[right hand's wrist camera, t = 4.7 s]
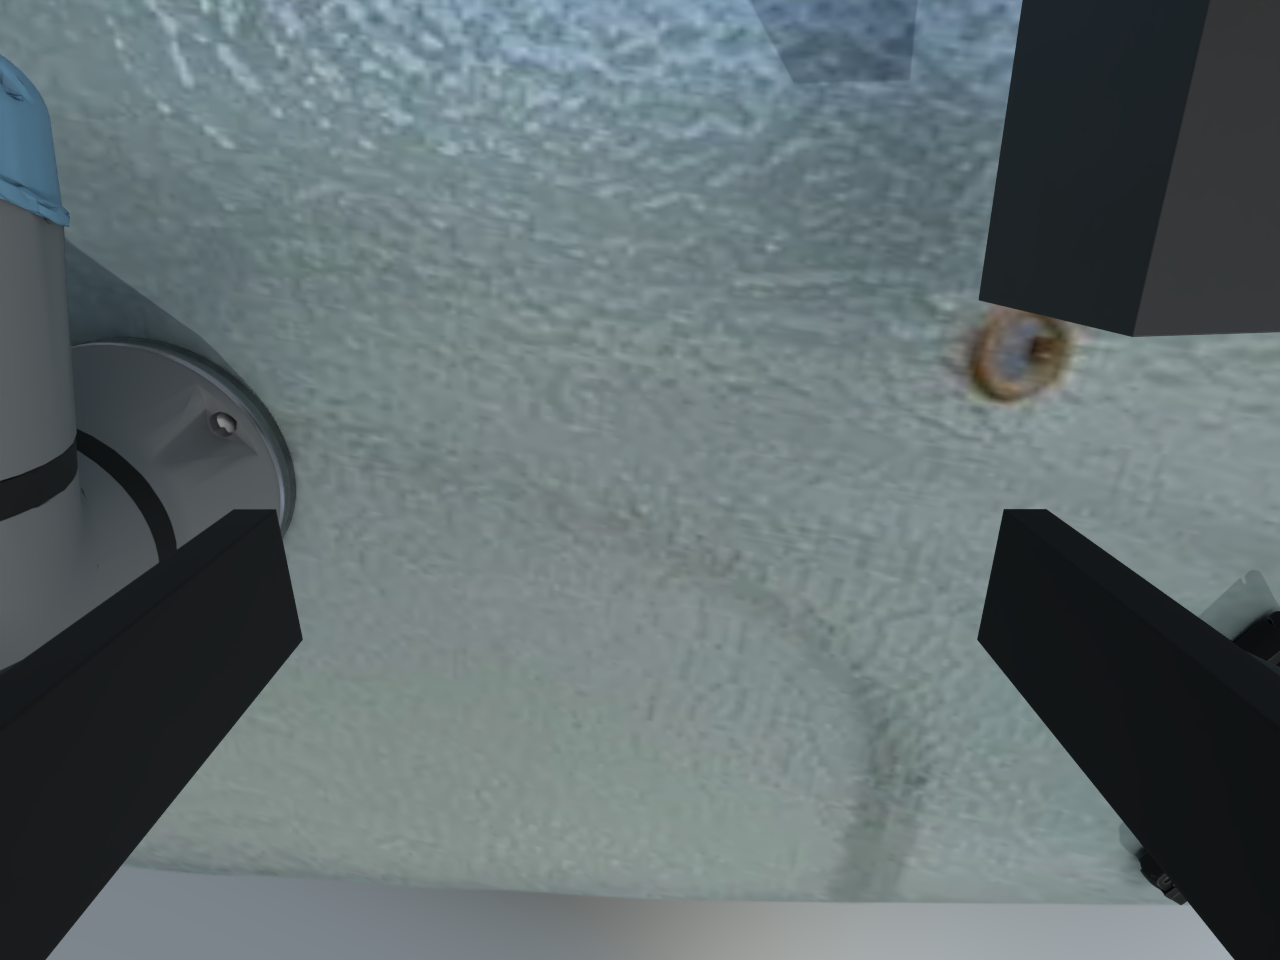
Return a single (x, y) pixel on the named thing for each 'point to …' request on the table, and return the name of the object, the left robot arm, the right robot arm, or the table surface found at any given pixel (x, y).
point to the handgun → (1269, 643)
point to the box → (1141, 167)
